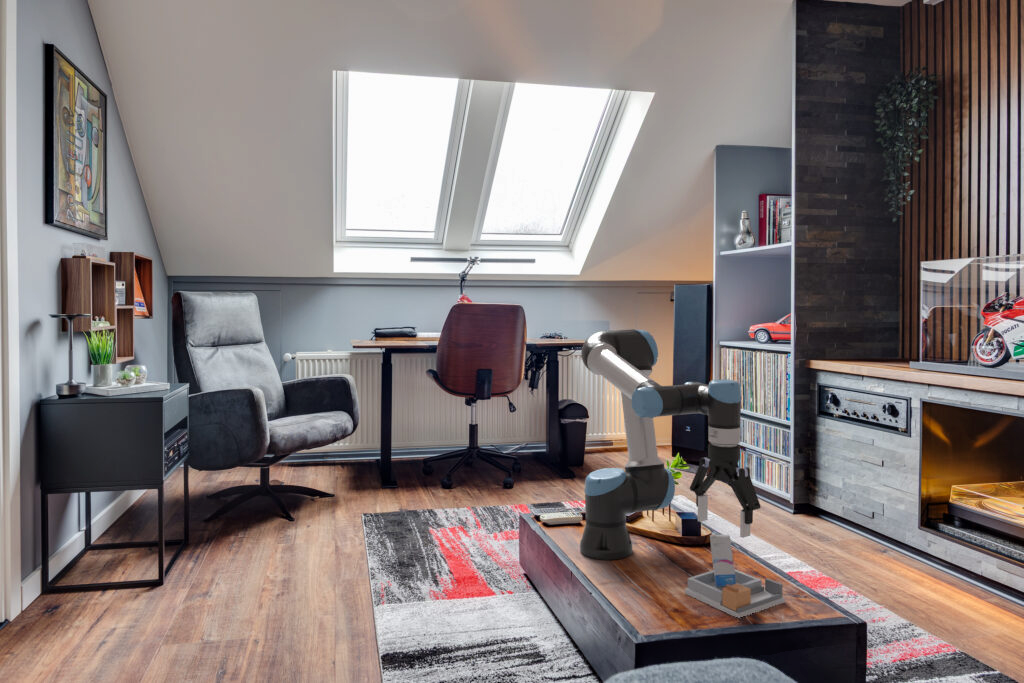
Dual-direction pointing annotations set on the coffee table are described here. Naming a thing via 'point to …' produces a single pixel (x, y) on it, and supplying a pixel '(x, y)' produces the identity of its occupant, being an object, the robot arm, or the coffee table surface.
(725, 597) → the brown block
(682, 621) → the coffee table surface
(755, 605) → the housing
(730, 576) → the ink box
